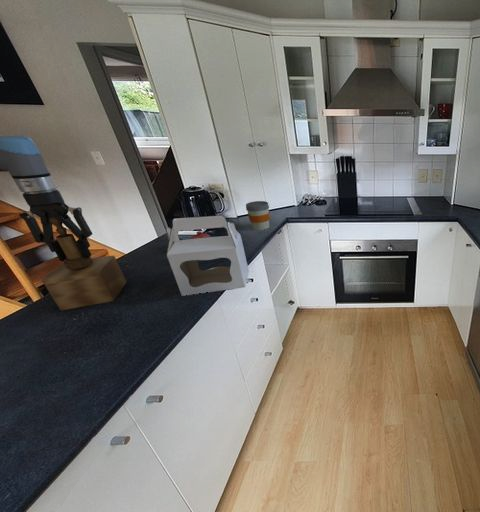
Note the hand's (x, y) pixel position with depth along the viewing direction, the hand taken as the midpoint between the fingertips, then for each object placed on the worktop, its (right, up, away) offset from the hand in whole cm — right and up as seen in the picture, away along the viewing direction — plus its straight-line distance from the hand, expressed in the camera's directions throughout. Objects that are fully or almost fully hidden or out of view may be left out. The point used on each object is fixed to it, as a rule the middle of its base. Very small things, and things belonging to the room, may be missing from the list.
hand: (76, 257), depth 94 cm
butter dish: (+13, +5, +47) cm, 49 cm away
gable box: (+39, -11, +16) cm, 44 cm away
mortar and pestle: (0, -3, +1) cm, 3 cm away
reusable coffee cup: (+31, +18, +73) cm, 82 cm away
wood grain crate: (0, -14, +7) cm, 16 cm away
